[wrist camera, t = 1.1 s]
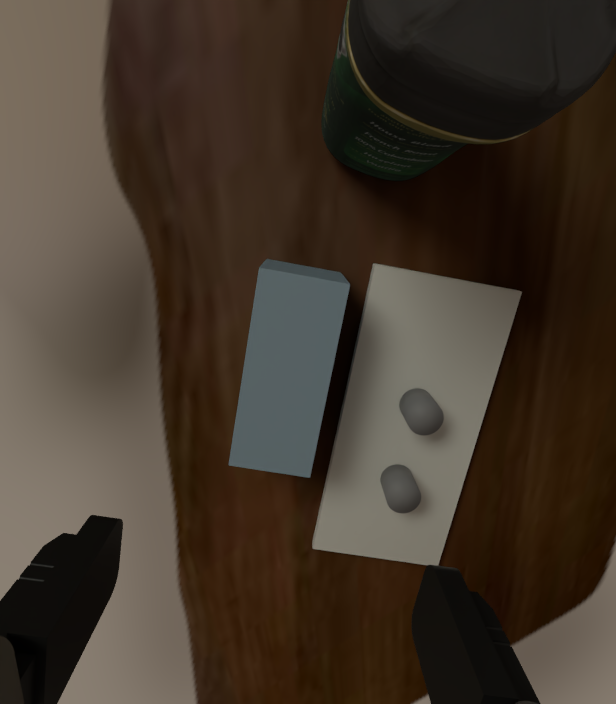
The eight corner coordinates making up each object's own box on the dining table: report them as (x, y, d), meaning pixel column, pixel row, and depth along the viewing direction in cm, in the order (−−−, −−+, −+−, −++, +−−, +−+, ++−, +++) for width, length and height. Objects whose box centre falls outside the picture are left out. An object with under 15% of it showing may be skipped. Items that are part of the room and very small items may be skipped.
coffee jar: (424, 196, 30) (610, 159, 12) (307, 156, 29) (320, 55, 11) (484, 31, 28) (824, -319, 10) (357, -17, 27) (473, -493, 9)
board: (373, 263, 31) (381, 267, 28) (516, 290, 32) (541, 297, 29) (312, 541, 37) (313, 572, 34) (434, 559, 37) (447, 591, 34)
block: (266, 258, 31) (259, 267, 25) (340, 272, 31) (350, 284, 25) (240, 423, 34) (228, 465, 28) (308, 434, 34) (309, 477, 29)
